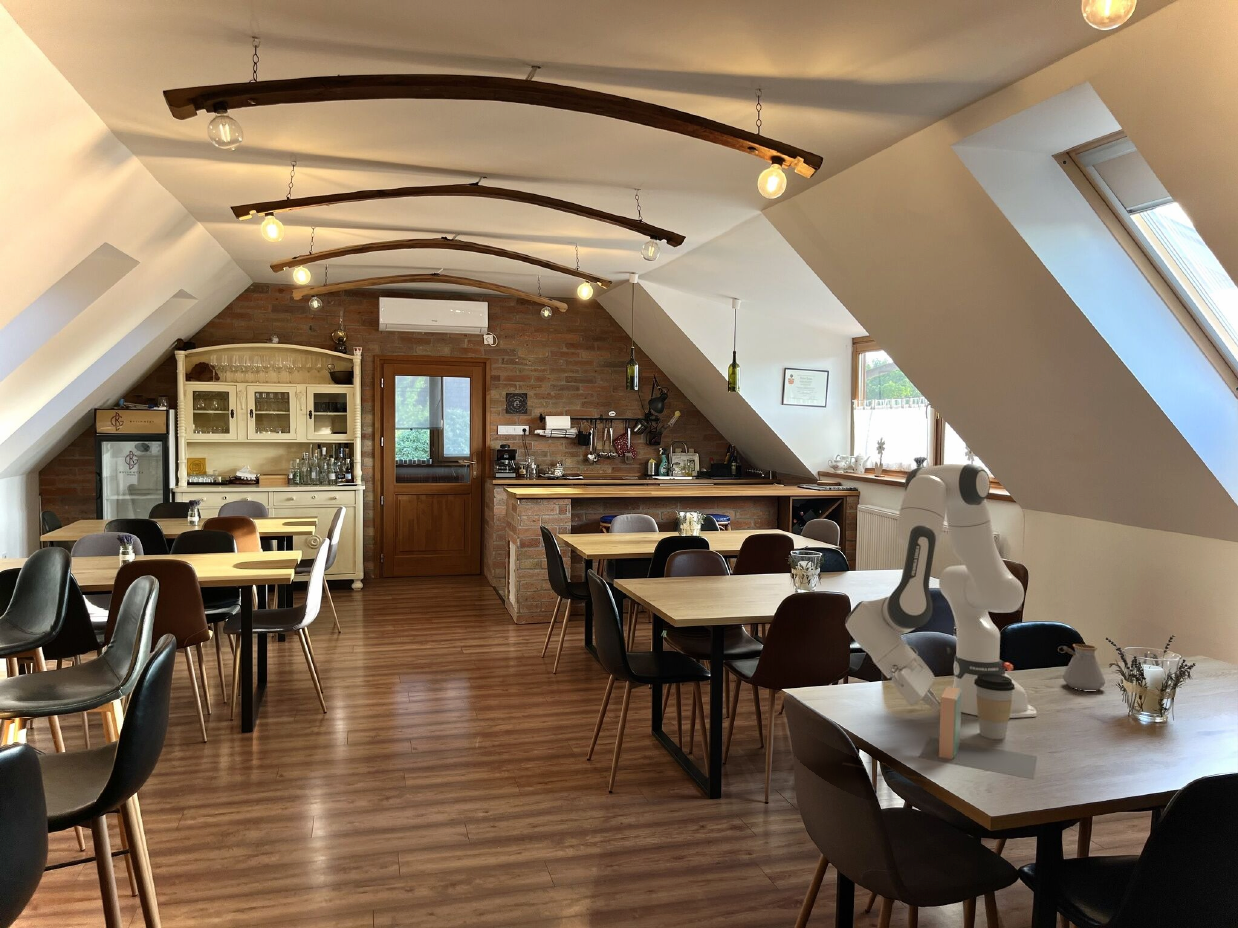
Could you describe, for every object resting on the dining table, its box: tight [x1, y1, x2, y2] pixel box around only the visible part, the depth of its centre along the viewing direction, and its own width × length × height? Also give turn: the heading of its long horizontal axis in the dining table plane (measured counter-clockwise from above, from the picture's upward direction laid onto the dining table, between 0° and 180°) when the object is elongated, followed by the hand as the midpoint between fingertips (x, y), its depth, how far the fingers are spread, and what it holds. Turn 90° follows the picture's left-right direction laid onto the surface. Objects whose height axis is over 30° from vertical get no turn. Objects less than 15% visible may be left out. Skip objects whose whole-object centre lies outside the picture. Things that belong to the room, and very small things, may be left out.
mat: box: [918, 736, 1038, 780], centre depth 200 cm, size 24×16×1 cm, turn 61°
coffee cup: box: [974, 673, 1015, 740], centre depth 216 cm, size 9×9×15 cm
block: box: [939, 686, 962, 759], centre depth 203 cm, size 3×10×14 cm, turn 151°
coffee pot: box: [1057, 643, 1106, 690], centre depth 259 cm, size 21×12×15 cm, turn 128°
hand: (938, 708), depth 204 cm, fingers closed
